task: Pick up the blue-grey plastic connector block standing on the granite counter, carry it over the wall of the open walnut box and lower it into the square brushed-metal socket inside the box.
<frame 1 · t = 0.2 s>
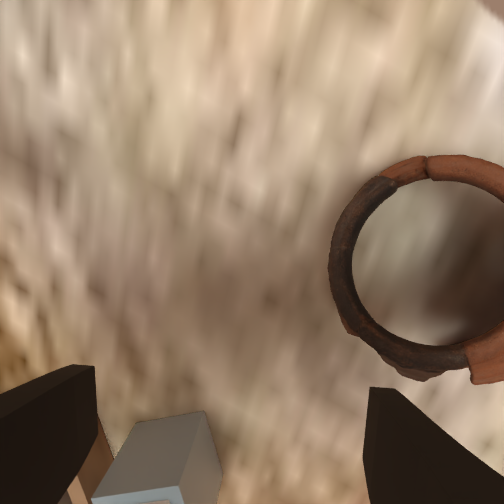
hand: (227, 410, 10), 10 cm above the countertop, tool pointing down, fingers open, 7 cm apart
connector: (179, 448, 22), on the countertop
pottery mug: (452, 249, 19), on the countertop
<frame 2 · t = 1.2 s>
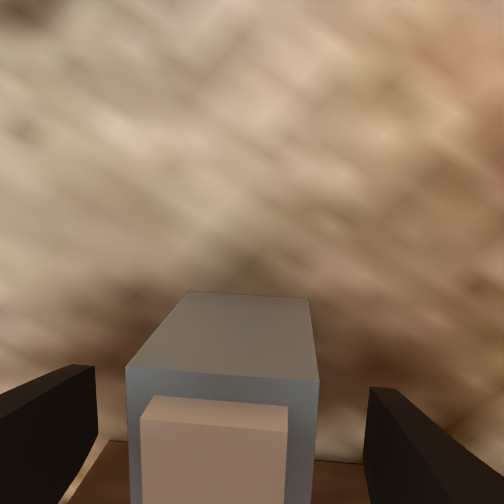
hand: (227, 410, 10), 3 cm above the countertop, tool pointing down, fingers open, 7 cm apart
connector: (245, 350, 14), on the countertop
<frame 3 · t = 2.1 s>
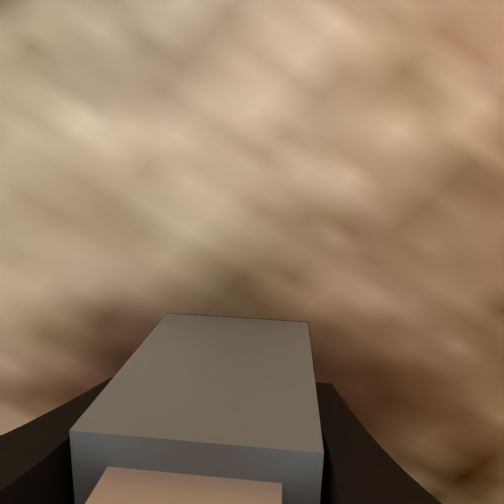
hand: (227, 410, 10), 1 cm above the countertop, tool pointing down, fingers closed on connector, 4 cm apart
connector: (234, 382, 12), on the countertop, touching gripper
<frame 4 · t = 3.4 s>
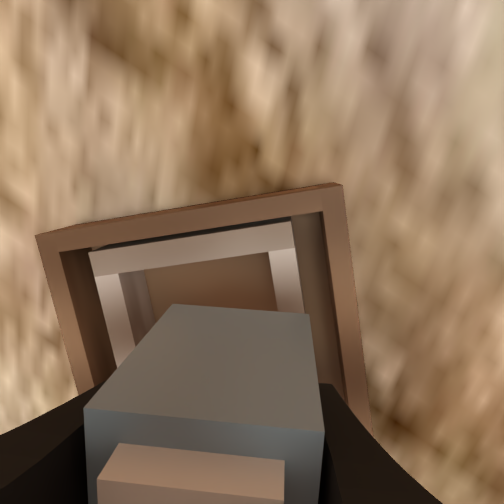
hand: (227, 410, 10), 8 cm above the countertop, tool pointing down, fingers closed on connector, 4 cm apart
connector: (237, 371, 12), point 7 cm above the countertop, touching gripper
box: (230, 367, 19), on the countertop
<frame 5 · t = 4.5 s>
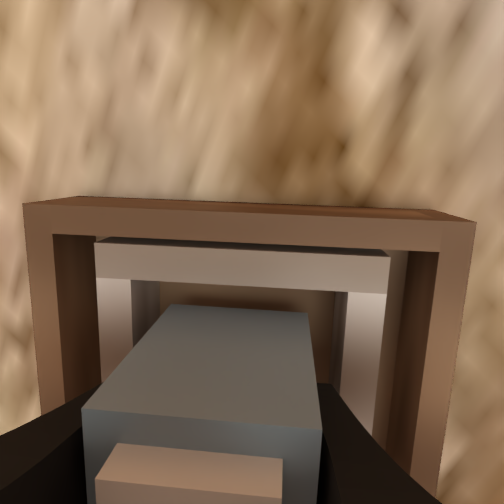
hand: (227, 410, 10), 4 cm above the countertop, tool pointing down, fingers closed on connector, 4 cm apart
connector: (236, 371, 12), point 2 cm above the countertop, touching gripper
box: (243, 414, 15), on the countertop
when the fingers open (4 cm above the countertop, at t = 5.1 s): connector drops 1 cm, resting on box.
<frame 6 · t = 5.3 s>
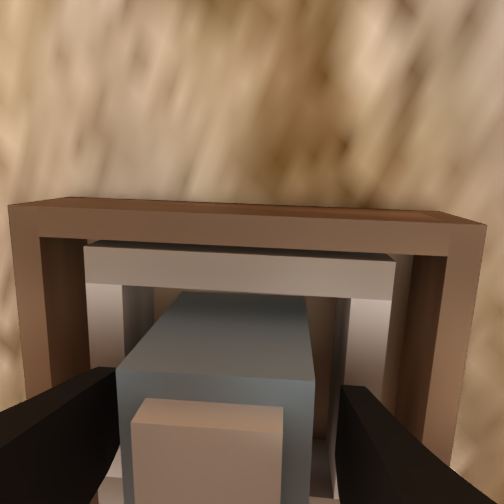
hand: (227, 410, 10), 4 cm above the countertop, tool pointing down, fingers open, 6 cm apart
connector: (242, 350, 13), resting on box
box: (241, 423, 14), on the countertop
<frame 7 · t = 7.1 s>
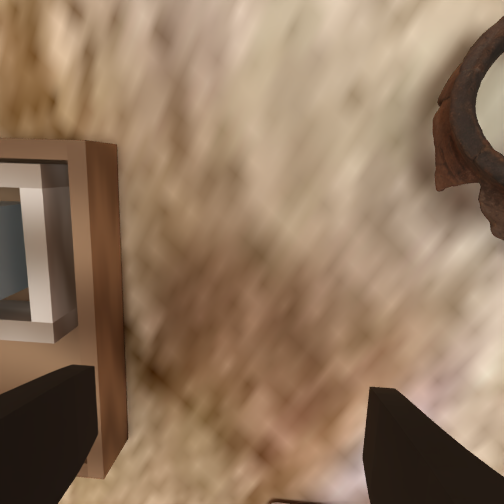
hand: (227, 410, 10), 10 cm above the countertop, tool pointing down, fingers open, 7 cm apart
connector: (1, 240, 20), resting on box
box: (13, 296, 21), on the countertop
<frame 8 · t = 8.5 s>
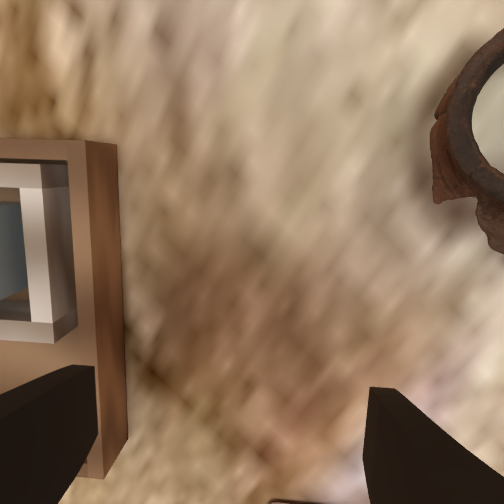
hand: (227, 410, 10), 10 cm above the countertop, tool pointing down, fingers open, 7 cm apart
connector: (1, 240, 20), resting on box
box: (13, 296, 21), on the countertop
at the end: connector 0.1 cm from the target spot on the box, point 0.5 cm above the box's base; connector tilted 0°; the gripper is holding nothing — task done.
